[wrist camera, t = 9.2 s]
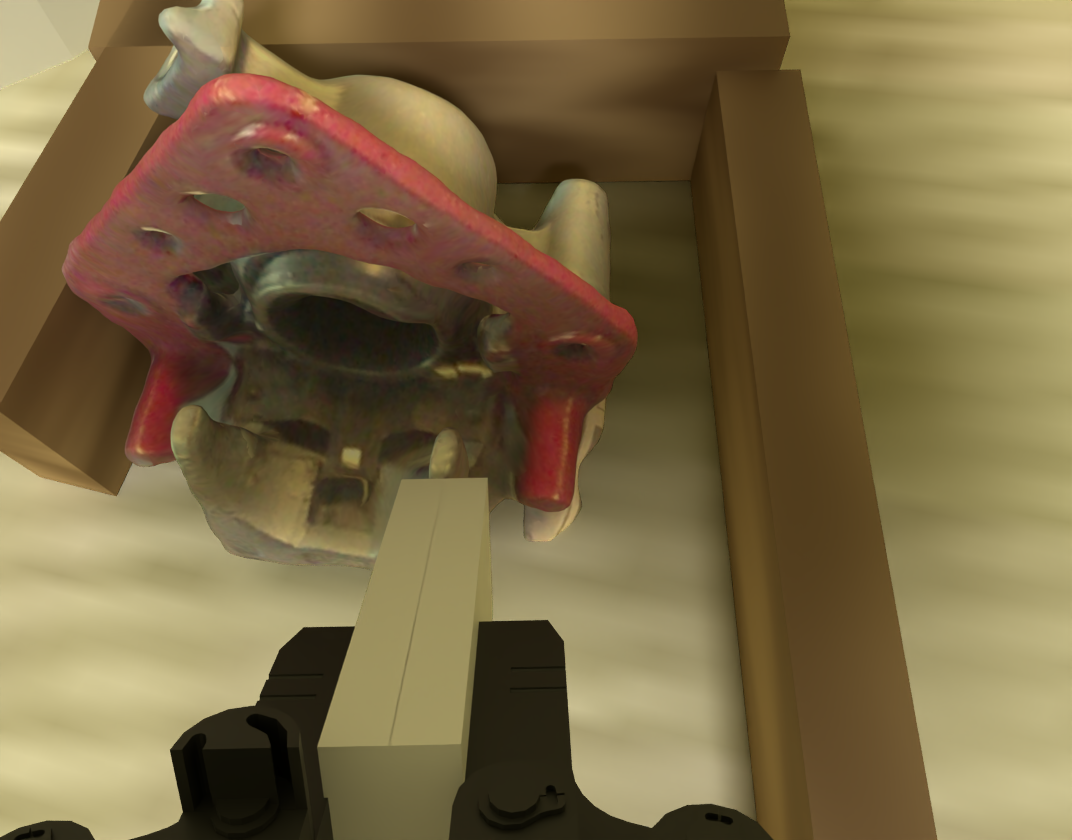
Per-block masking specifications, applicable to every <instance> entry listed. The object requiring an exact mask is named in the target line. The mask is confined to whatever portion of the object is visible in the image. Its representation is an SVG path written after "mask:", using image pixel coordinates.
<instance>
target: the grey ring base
mask: <svg viewBox="0 0 1072 840" xmlns="http://www.w3.org/2000/svg"><path fill="white" fill-rule="evenodd" d="M99 2H100V0H0V90H1V89H4V88H6V87H9V86H11V85H13V84H16V83H18V82H20V81H23V80H25V79H28V78H30V77H32V76H35V75H37V74H40V73H42V72H44V71H47V70H49V69H51V68H54V67H56V66H59V65H61V64H63V63H66V62H68V61H71V60H73V59H75V58H76V57H78V56H79V55H81V54H82V53H84V52H85V51H87V50H88V49H89V48H88V45H89V41H90V37H91V33H92V29H93V25H94V22H95V18H96V14H97V10H98V6H99Z"/></svg>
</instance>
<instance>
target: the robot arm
mask: <svg viewBox="0 0 1072 840" xmlns="http://www.w3.org/2000/svg"><path fill="white" fill-rule="evenodd" d="M492 619H493V601H492V576H491V551H490V526H489V501H488V478H448V479H402V480H401V483H400V486H399V489H398V493H397V496H396V499H395V502H394V505H393V508H392V512H391V515H390V518H389V521H388V524H387V527H386V531H385V534H384V537H383V540H382V543H381V546H380V550H379V553H378V556H377V559H376V562H375V565H374V569H373V572H372V575H371V578H370V581H369V584H368V588H367V591H366V594H365V597H364V600H363V603H362V607H361V610H360V613H359V616H358V619H357V622H356V626H353V627H304V628H303V629H302V630H300V631H299V632H298V633H297V634H296V635H295V636H294V637H293V638H292V639H291V640H290V641H289V642H287V643H286V644H285V645H284V646H283V647H282V648H281V649H280V650H279V653H278V655H277V657H276V659H275V662H274V664H273V666H272V669H271V671H270V673H269V680H266V682H265V685H264V687H263V689H262V692H261V694H260V700H259V701H257V703H256V705H255V706H248V707H241V708H235V709H228V710H226V711H223V712H220V713H218V714H215V715H213V716H210V717H207V718H205V719H203V720H202V721H200V722H199V723H197V724H196V725H194V726H193V727H192V728H190V729H189V730H187V731H186V732H184V733H183V734H182V736H181V737H180V738H179V739H178V741H177V742H176V743H175V744H174V746H173V747H172V748H171V749H170V753H171V757H172V762H173V767H174V772H175V776H176V781H177V786H178V791H179V796H180V800H181V805H182V810H183V813H182V815H181V817H180V820H179V822H177V823H175V824H174V825H172V826H170V827H168V828H165V829H162V830H159V831H157V832H154V833H151V834H148V835H145V836H141V837H137V838H134V839H130V840H773V839H772V838H771V836H770V835H769V834H768V833H767V832H766V831H765V830H764V829H763V828H762V827H761V825H760V824H759V823H758V822H756V821H754V820H752V819H751V818H749V817H747V816H745V815H744V814H742V813H740V812H739V811H737V810H734V809H730V808H726V807H722V806H718V805H713V804H700V805H686V806H684V807H681V808H679V809H676V810H674V811H671V812H669V813H667V814H665V815H664V816H663V817H662V818H661V820H660V821H659V822H658V823H657V824H656V825H655V826H654V827H653V828H649V827H646V826H642V825H638V824H634V823H630V822H627V821H624V820H621V819H618V818H615V817H613V816H610V815H608V814H607V813H605V812H603V811H602V810H600V809H598V808H597V807H595V806H594V805H593V804H592V803H591V802H590V801H589V800H588V799H587V798H586V797H585V796H584V795H583V794H582V793H581V791H580V789H579V787H578V786H577V784H576V782H575V779H574V775H573V770H572V760H571V745H570V730H569V715H568V699H567V684H566V671H565V653H564V641H563V640H562V638H561V637H560V636H559V634H558V633H557V632H556V630H555V629H554V628H553V626H552V625H551V624H550V622H549V621H548V620H533V621H492ZM0 840H95V839H94V838H93V836H92V834H91V832H90V831H89V829H88V828H86V827H83V826H81V825H79V824H77V823H74V822H72V821H44V822H40V823H36V824H32V825H28V826H24V827H20V828H18V829H16V830H14V831H12V832H10V833H8V834H6V835H4V836H2V837H0Z"/></svg>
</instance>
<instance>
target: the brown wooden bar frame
mask: <svg viewBox="0 0 1072 840" xmlns="http://www.w3.org/2000/svg"><path fill="white" fill-rule="evenodd" d="M201 1H202V0H100V2H99V6H98V10H97V14H96V18H95V22H94V25H93V29H92V33H91V37H90V41H89V45H88V48H89V50H90V51H91V53H92V55H93V56H94V58H95V60H96V61H97V62H96V64H95V65H94V67H93V69H92V70H91V72H90V74H89V75H88V77H87V79H86V80H85V82H84V84H83V85H82V87H81V88H80V90H79V92H78V93H77V95H76V97H75V98H74V100H73V102H72V103H71V105H70V107H69V108H68V110H67V112H66V113H65V115H64V117H63V118H62V120H61V122H60V123H59V125H58V127H57V128H56V130H55V132H54V133H53V135H52V137H51V138H50V140H49V142H48V143H47V145H46V147H45V148H44V150H43V152H42V153H41V155H40V157H39V158H38V160H37V162H36V163H35V165H34V167H33V168H32V170H31V171H30V173H29V175H28V176H27V178H26V180H25V181H24V183H23V185H22V186H21V188H20V190H19V191H18V193H17V195H16V196H15V198H14V200H13V201H12V203H11V205H10V206H9V208H8V210H7V211H6V213H5V215H4V216H3V218H2V220H1V221H0V451H1V452H3V453H4V454H6V455H7V456H9V457H10V458H12V459H13V460H15V461H16V462H18V463H19V464H21V465H23V466H24V467H26V468H27V469H29V470H30V471H32V472H33V473H35V474H36V475H38V476H39V477H42V478H46V479H50V480H54V481H58V482H62V483H66V484H70V485H74V486H78V487H82V488H86V489H90V490H94V491H98V492H102V493H106V494H110V495H114V496H117V494H118V492H119V490H120V487H121V485H122V483H123V481H124V479H125V477H126V475H127V472H128V470H129V468H130V466H131V464H132V462H131V461H130V460H129V459H128V458H127V457H126V455H125V443H126V440H127V436H128V433H129V430H130V426H131V422H132V418H133V415H134V411H135V408H136V406H137V404H138V401H139V399H140V396H141V394H142V391H143V389H144V385H145V382H146V377H147V374H148V371H149V368H150V365H151V355H150V353H149V351H148V349H147V348H146V347H145V346H144V345H143V343H141V342H140V341H139V340H138V339H137V338H136V337H134V336H133V335H132V334H131V333H130V332H128V331H127V330H126V329H125V328H124V327H122V326H120V325H118V324H115V323H113V322H111V321H110V320H109V319H108V318H106V317H105V316H104V315H103V314H101V313H100V312H99V311H98V310H97V309H96V308H94V307H93V306H92V305H90V304H89V303H88V302H87V301H85V300H83V299H81V298H80V297H78V296H77V295H76V294H74V293H73V292H72V291H71V289H70V287H69V286H68V284H67V282H66V279H65V277H64V275H63V272H62V266H63V263H64V262H65V259H66V256H67V254H68V249H69V244H70V243H71V242H72V241H73V240H74V238H75V237H77V236H78V235H80V234H81V233H82V231H83V230H84V229H85V227H86V225H87V224H88V222H89V221H90V220H91V219H92V218H93V217H94V216H95V215H96V214H97V213H98V212H100V211H101V209H102V207H103V206H104V204H105V203H106V202H107V201H108V200H109V198H110V197H111V194H112V192H113V190H114V188H115V187H116V185H117V184H118V183H119V182H120V181H122V180H123V179H124V178H125V177H126V176H127V175H129V174H130V173H131V172H132V171H133V169H134V168H135V166H136V165H137V164H138V163H139V161H140V160H141V159H142V157H143V156H144V155H145V154H146V152H147V151H148V150H149V149H150V148H151V147H152V146H153V145H154V143H155V142H156V141H157V139H158V138H159V136H160V135H161V133H162V132H163V131H164V130H166V129H167V128H168V127H169V126H170V125H171V124H173V123H174V122H176V121H177V119H174V118H171V117H167V116H163V115H159V114H157V113H156V112H154V111H152V110H151V109H150V108H149V107H148V106H147V104H146V103H145V101H144V98H143V97H144V92H145V90H146V88H147V87H148V85H149V84H150V82H151V81H152V80H153V78H154V77H155V76H156V75H157V73H158V72H159V70H160V68H161V67H162V65H163V64H164V62H165V60H166V58H167V57H168V56H169V54H170V52H171V50H172V48H173V43H172V42H171V41H170V40H169V38H168V37H167V36H166V35H165V33H164V32H163V30H162V29H161V27H160V25H159V22H158V19H159V14H160V13H161V12H162V11H163V10H164V9H167V8H171V7H175V6H178V7H184V8H188V7H196V6H198V5H199V4H200V3H201ZM243 1H244V17H243V22H242V30H243V31H244V32H245V33H246V34H247V35H249V36H250V37H251V38H252V39H254V40H255V41H256V42H258V43H259V44H260V45H262V46H263V47H265V48H266V49H268V50H269V51H271V52H272V53H273V54H275V55H276V56H278V57H279V58H281V59H282V60H283V61H285V62H286V63H288V64H289V65H291V66H292V67H294V68H295V69H297V70H298V71H300V72H302V73H303V74H305V75H307V76H309V77H311V78H314V79H318V80H326V79H333V78H339V77H344V76H351V75H372V76H383V77H389V78H394V79H397V80H400V81H403V82H406V83H409V84H412V85H414V86H417V87H419V88H422V89H424V90H427V91H429V92H431V93H433V94H435V95H437V96H439V97H441V98H443V99H445V100H447V101H448V102H450V103H451V104H453V105H455V106H456V107H457V108H459V109H460V110H461V111H462V112H463V113H464V114H465V115H466V116H467V117H468V118H469V119H470V120H471V121H472V122H473V123H474V124H475V126H476V127H477V128H478V129H479V131H480V132H481V134H482V135H483V137H484V139H485V141H486V143H487V145H488V148H489V150H490V152H491V154H492V157H493V160H494V163H495V167H496V174H497V183H552V182H563V181H564V180H568V179H585V180H589V181H592V182H617V181H682V180H690V182H691V192H692V201H693V211H694V221H695V230H696V240H697V249H698V259H699V268H700V278H701V288H702V297H703V307H704V316H705V326H706V335H707V345H708V355H709V364H710V374H711V383H712V393H713V402H714V412H715V422H716V431H717V441H718V450H719V460H720V469H721V479H722V489H723V498H724V508H725V517H726V527H727V536H728V546H729V556H730V565H731V575H732V584H733V594H734V604H735V613H736V623H737V632H738V642H739V651H740V661H741V671H742V680H743V690H744V699H745V709H746V718H747V728H748V738H749V747H750V757H751V766H752V776H753V785H754V795H755V805H756V814H757V822H758V823H759V824H760V825H761V827H762V828H763V829H764V830H765V831H766V832H767V833H768V834H769V835H770V836H771V838H772V839H773V840H937V835H936V829H935V824H934V818H933V812H932V807H931V801H930V796H929V790H928V784H927V779H926V773H925V768H924V762H923V756H922V751H921V745H920V739H919V734H918V728H917V723H916V717H915V711H914V706H913V700H912V695H911V689H910V683H909V678H908V672H907V666H906V661H905V655H904V650H903V644H902V638H901V633H900V627H899V622H898V616H897V610H896V605H895V599H894V593H893V588H892V582H891V577H890V571H889V565H888V560H887V554H886V549H885V543H884V537H883V532H882V526H881V520H880V515H879V509H878V504H877V498H876V492H875V487H874V481H873V476H872V470H871V464H870V459H869V453H868V447H867V442H866V436H865V431H864V425H863V419H862V414H861V408H860V403H859V397H858V391H857V386H856V380H855V374H854V369H853V363H852V358H851V352H850V346H849V341H848V335H847V330H846V324H845V318H844V313H843V307H842V301H841V296H840V290H839V285H838V279H837V273H836V268H835V262H834V257H833V251H832V245H831V240H830V234H829V228H828V223H827V217H826V212H825V206H824V200H823V195H822V189H821V184H820V178H819V172H818V167H817V161H816V155H815V150H814V144H813V139H812V133H811V127H810V122H809V116H808V111H807V105H806V99H805V94H804V88H803V82H802V77H801V71H800V70H779V69H780V66H781V63H782V60H783V57H784V54H785V51H786V47H787V44H788V41H789V38H790V33H789V27H788V22H787V16H786V10H785V4H784V0H243ZM191 196H193V197H194V195H191Z"/></svg>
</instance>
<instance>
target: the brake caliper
mask: <svg viewBox="0 0 1072 840" xmlns="http://www.w3.org/2000/svg"><path fill="white" fill-rule="evenodd" d="M243 17H244V1H243V0H202V1H201V3H200V4H199V5H198V6H196V7H188V8H184V7H178V6H175V7H171V8H167V9H164V10H163V11H162V12H161V13H160V14H159V19H158V22H159V25H160V27H161V29H162V30H163V32H164V33H165V35H166V36H167V37H168V38H169V40H170V41H171V42H172V43H173V48H172V50H171V52H170V54H169V56H168V57H167V58H166V60H165V62H164V64H163V65H162V67H161V68H160V70H159V72H158V73H157V75H156V76H155V77H154V78H153V80H152V81H151V82H150V84H149V85H148V87H147V88H146V90H145V92H144V97H143V98H144V101H145V103H146V104H147V106H148V107H149V108H150V109H151V110H152V111H154V112H156V113H157V114H159V115H163V116H167V117H171V118H174V119H177V121H176V122H174V123H173V124H171V125H170V126H169V127H168V128H167V129H166V130H164V131H163V132H162V133H161V135H160V136H159V138H158V139H157V141H156V142H155V143H154V145H153V146H152V147H151V148H150V149H149V150H148V151H147V152H146V154H145V155H144V156H143V157H142V159H141V160H140V161H139V163H138V164H137V165H136V166H135V168H134V169H133V171H132V172H131V173H130V174H129V175H127V176H126V177H125V178H124V179H123V180H122V181H120V182H119V183H118V184H117V185H116V187H115V188H114V190H113V192H112V194H111V197H110V198H109V200H108V201H107V202H106V203H105V204H104V206H103V207H102V209H101V211H100V212H98V213H97V214H96V215H95V216H94V217H93V218H92V219H91V220H90V221H89V222H88V224H87V225H86V227H85V229H84V230H83V231H82V233H81V234H80V235H78V236H77V237H75V238H74V240H73V241H72V242H71V243H70V244H69V249H68V254H67V256H66V259H65V262H64V263H63V266H62V272H63V275H64V277H65V279H66V282H67V284H68V286H69V287H70V289H71V291H72V292H73V293H74V294H76V295H77V296H78V297H80V298H81V299H83V300H85V301H87V302H88V303H89V304H90V305H92V306H93V307H94V308H96V309H97V310H98V311H99V312H100V313H101V314H103V315H104V316H105V317H106V318H108V319H109V320H110V321H111V322H113V323H115V324H118V325H120V326H122V327H124V328H125V329H126V330H127V331H128V332H130V333H131V334H132V335H133V336H134V337H136V338H137V339H138V340H139V341H140V342H141V343H143V345H144V346H145V347H146V348H147V349H148V351H149V353H150V355H151V365H150V368H149V371H148V374H147V377H146V382H145V385H144V389H143V391H142V394H141V396H140V399H139V401H138V404H137V406H136V408H135V411H134V415H133V418H132V422H131V426H130V430H129V433H128V436H127V440H126V443H125V455H126V457H127V458H128V459H129V460H130V461H131V462H132V463H134V464H136V465H138V466H143V467H150V466H155V465H158V464H161V463H167V462H171V461H174V460H177V462H178V463H179V465H180V467H181V469H182V472H183V475H184V476H185V478H186V480H187V483H188V485H189V488H190V490H191V492H192V494H193V495H194V497H195V498H196V499H197V500H198V501H199V503H200V504H201V506H202V509H203V511H204V514H205V517H206V519H207V522H208V524H209V526H210V528H211V530H212V531H213V533H214V534H215V535H216V536H217V537H218V538H219V539H220V541H221V543H222V544H223V546H224V548H225V549H226V550H227V551H228V552H229V553H231V554H234V555H237V556H241V557H244V558H250V559H256V560H263V561H269V562H275V563H281V564H288V565H339V566H352V567H359V568H365V569H369V570H373V569H374V565H375V562H376V559H377V556H378V553H379V550H380V546H381V543H382V540H383V537H384V534H385V531H386V527H387V524H388V521H389V518H390V515H391V512H392V508H393V505H394V502H395V499H396V496H397V493H398V489H399V486H400V483H401V480H402V479H448V478H488V501H489V514H490V512H491V511H492V510H493V509H494V508H495V507H496V506H497V505H498V504H499V503H500V502H501V501H503V500H504V499H513V500H516V501H518V502H520V503H522V504H523V505H524V520H523V521H524V537H525V539H526V540H528V541H550V540H553V538H554V537H556V536H557V535H558V534H559V533H560V532H562V531H563V530H564V529H565V528H567V527H568V526H569V525H570V524H571V523H572V522H573V521H574V520H575V518H576V516H577V515H578V513H579V512H580V510H581V507H582V502H581V499H580V494H579V489H578V470H579V466H580V464H581V462H582V461H583V459H584V458H585V457H586V456H587V454H588V453H589V452H590V451H591V450H592V449H593V447H594V446H595V445H596V444H597V443H598V441H599V439H600V436H601V434H602V431H603V426H604V415H605V407H606V397H607V396H608V394H609V393H610V391H611V389H612V385H613V381H614V379H615V378H616V376H618V375H619V374H620V373H621V372H622V370H623V369H624V367H625V366H626V365H627V363H628V362H629V361H630V359H631V358H632V357H633V355H634V352H635V350H636V347H637V339H638V335H637V328H636V325H635V323H634V319H633V317H632V316H631V315H630V314H629V312H627V310H626V309H624V308H622V307H619V306H617V305H614V304H612V303H611V302H610V271H611V268H610V244H611V232H610V223H609V204H608V198H607V195H606V193H605V191H604V190H603V189H602V188H601V187H600V186H599V185H598V184H596V183H594V182H592V181H589V180H585V179H568V180H564V181H563V182H561V183H560V184H559V186H558V187H557V188H556V190H555V192H554V194H553V196H552V198H551V199H550V201H549V203H548V204H547V206H546V208H545V209H544V212H543V214H542V216H541V218H540V220H539V221H538V223H537V224H536V225H535V227H534V228H533V229H532V230H524V229H518V228H512V227H508V226H506V225H505V224H504V223H503V222H502V221H501V220H500V219H499V218H498V217H497V216H496V215H495V213H494V208H495V201H496V193H497V174H496V167H495V163H494V160H493V157H492V154H491V152H490V150H489V148H488V145H487V143H486V141H485V139H484V137H483V135H482V134H481V132H480V131H479V129H478V128H477V127H476V126H475V124H474V123H473V122H472V121H471V120H470V119H469V118H468V117H467V116H466V115H465V114H464V113H463V112H462V111H461V110H460V109H459V108H457V107H456V106H455V105H453V104H451V103H450V102H448V101H447V100H445V99H443V98H441V97H439V96H437V95H435V94H433V93H431V92H429V91H427V90H424V89H422V88H419V87H417V86H414V85H412V84H409V83H406V82H403V81H400V80H397V79H394V78H389V77H383V76H372V75H351V76H344V77H339V78H333V79H326V80H318V79H314V78H311V77H309V76H307V75H305V74H303V73H302V72H300V71H298V70H297V69H295V68H294V67H292V66H291V65H289V64H288V63H286V62H285V61H283V60H282V59H281V58H279V57H278V56H276V55H275V54H273V53H272V52H271V51H269V50H268V49H266V48H265V47H263V46H262V45H260V44H259V43H258V42H256V41H255V40H254V39H252V38H251V37H250V36H249V35H247V34H246V33H245V32H244V31H243V30H242V22H243ZM191 195H194V197H193V196H191Z"/></svg>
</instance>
